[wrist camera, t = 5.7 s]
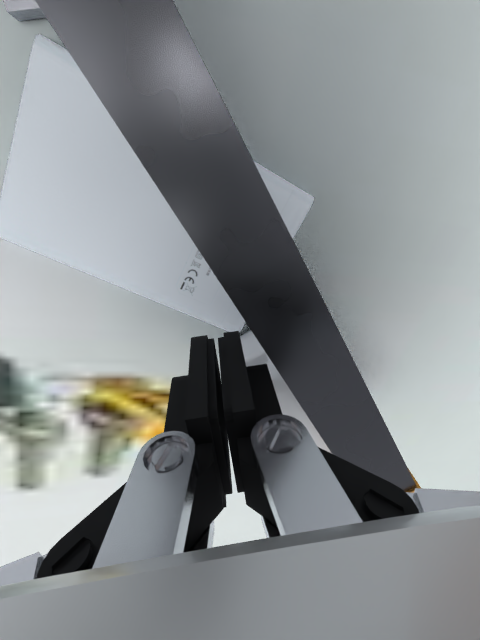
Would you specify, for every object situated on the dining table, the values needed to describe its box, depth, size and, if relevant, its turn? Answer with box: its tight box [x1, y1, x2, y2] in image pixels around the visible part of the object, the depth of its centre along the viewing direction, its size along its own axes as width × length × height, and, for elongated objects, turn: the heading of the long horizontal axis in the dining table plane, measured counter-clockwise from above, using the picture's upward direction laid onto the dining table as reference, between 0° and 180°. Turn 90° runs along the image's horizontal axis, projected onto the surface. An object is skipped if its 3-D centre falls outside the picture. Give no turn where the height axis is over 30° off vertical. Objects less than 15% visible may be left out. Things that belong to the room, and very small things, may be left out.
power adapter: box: [240, 330, 332, 454], centre depth 18 cm, size 11×5×6 cm, turn 29°
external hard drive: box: [0, 34, 315, 333], centre depth 15 cm, size 2×8×12 cm
